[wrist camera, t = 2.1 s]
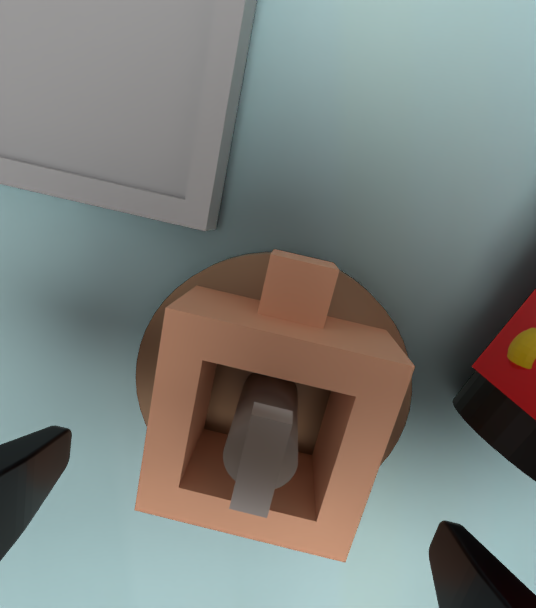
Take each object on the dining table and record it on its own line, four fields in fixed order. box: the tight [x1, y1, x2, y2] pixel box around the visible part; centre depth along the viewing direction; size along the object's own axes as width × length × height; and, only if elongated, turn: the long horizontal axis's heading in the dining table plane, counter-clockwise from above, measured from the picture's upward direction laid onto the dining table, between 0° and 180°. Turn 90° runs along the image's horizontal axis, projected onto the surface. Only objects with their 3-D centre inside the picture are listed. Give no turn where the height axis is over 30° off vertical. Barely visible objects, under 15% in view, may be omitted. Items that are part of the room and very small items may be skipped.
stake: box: [136, 252, 412, 518], centre depth 11 cm, size 10×10×5 cm
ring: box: [135, 249, 415, 562], centre depth 11 cm, size 8×7×3 cm
